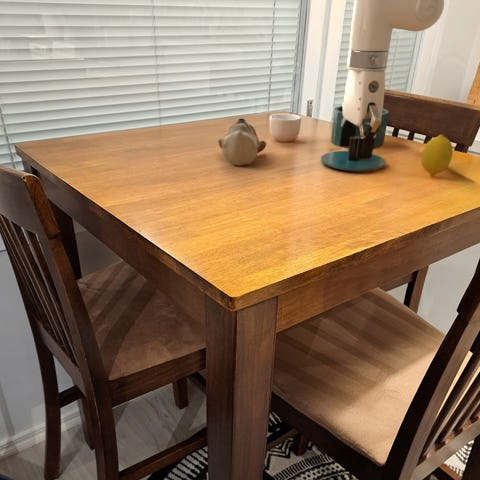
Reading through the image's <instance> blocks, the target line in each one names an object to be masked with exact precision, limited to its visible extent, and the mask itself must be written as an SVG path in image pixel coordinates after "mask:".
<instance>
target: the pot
mask: <svg viewBox="0 0 480 480" xmlns="http://www.w3.org/2000/svg"><path fill="white" fill-rule="evenodd" d="M342 113H343V105H339V106H337V107H334V109H333V118H332V127H331V136H330V143H331V144H333V145H335V146H336V147H340V148H342V147H341V146H340V145H339V143H340V134H341V127H342V126H341V122H342V120H343V118H342ZM389 113H390V112H389V110H388V109H386V108H383V111H382V118H381V123H380V124H379V126H378V131H377V133H376V138H375V139H374V146H373V150H374V149H379V148H381V147H384V143H385V138H386V131H387V125H388V120H389ZM353 127H356V134H355V136H359V137H361V136H360V129H359V126H356V125H355V126H353ZM367 128H368V127H365V131H366V129H367ZM344 148H346V149H349V146H347V147H344Z"/></svg>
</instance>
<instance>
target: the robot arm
mask: <svg viewBox="0 0 480 480" xmlns="http://www.w3.org/2000/svg"><path fill="white" fill-rule="evenodd" d="M444 9H445V0H354V2H353V8H352V17H351V24H350V25H351V27H350V35H349V41H348V42H349V43H348V52H347V60H346V69H347V70H348V72H347V77H346V82H345V88H344V94H343V101H342V105H341V106H343V113H342V118H343V120H342V122H341V126H342V127H341V134H340V143H339V145H340V146H341V147H340V146H339V147H340V148H345V147H347V146H349V144H350V137H351V136H355V134H356V127H353V126H355V125H356V126H359V129H360V136H361V138H358V145H357V152H356V158H357V159H370V158H371V157H372V154H373V152H374V149H373V146H374V139H375V138H376V133H377V131H378V126H379V124H380V123H381V118H382V111H383V109H384V101H385V90H386V70H387V67H388V66H387V65H388V61H389V60H388V59H389V53H390V47H391V40H392V35H393V29H396V30H403V31H408V32H421V31H425V30H427V29H429V28H431V27H432V26H433V25H435V24H436V23H437V22H438V21H439V19H440V18H441V16H442V15H443V12H444ZM365 127H368V128H367V129H366V131H365Z"/></svg>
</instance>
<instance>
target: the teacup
mask: <svg viewBox="0 0 480 480" xmlns="http://www.w3.org/2000/svg"><path fill="white" fill-rule="evenodd" d="M268 119H269V133H270V136H271V138H273V139H274V140H275V141H277V142H282V143H289V142H292V141H294V140H295V139H297V137H298V136H299V134H300V129H301V123H302V117H301V116H300V115H298V114H294V113H274V114H271V115H270V116H269V118H268Z"/></svg>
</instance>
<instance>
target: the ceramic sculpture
mask: <svg viewBox="0 0 480 480" xmlns="http://www.w3.org/2000/svg"><path fill="white" fill-rule="evenodd" d="M217 141H218V142H217V143H218V145H219V147H220V149H221V151H222V154H223V157H224V158H225V161H226V162H228V163H229V164H231V165H234V166H238V167H239V166H240V167H241V166H246V165H250V164H251V163H253V161H254V160H255V158H256V156H257V154H259V153H261V152H263V151H264V150H265V149H266V146H267V142H266V141H265V140H260V139H259V136H258V134H257V132H256V129H255V128H254V127H253V125H251V124H250V123H248V121H247V120H246V119H245V118H241V117H240V118H239V119H237V121H236V122H234V123H233V124H232V125H230V127H229V128H228V130H227V132H226V134H225V135H224V138H220V139H219V140H217Z"/></svg>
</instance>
